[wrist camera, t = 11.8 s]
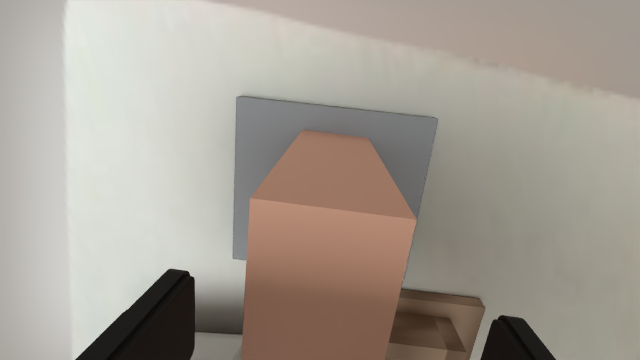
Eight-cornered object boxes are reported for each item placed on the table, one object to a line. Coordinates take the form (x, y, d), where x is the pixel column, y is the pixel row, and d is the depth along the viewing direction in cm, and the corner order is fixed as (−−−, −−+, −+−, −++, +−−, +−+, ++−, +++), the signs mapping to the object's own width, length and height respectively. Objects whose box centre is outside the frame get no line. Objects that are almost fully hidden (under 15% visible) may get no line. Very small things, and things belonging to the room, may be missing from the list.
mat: (433, 117, 19) (438, 119, 18) (401, 271, 23) (404, 279, 22) (241, 96, 20) (236, 96, 19) (237, 251, 23) (232, 258, 22)
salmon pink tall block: (368, 137, 19) (416, 219, 7) (349, 253, 21) (363, 452, 10) (302, 129, 19) (250, 198, 7) (290, 246, 21) (237, 434, 10)
